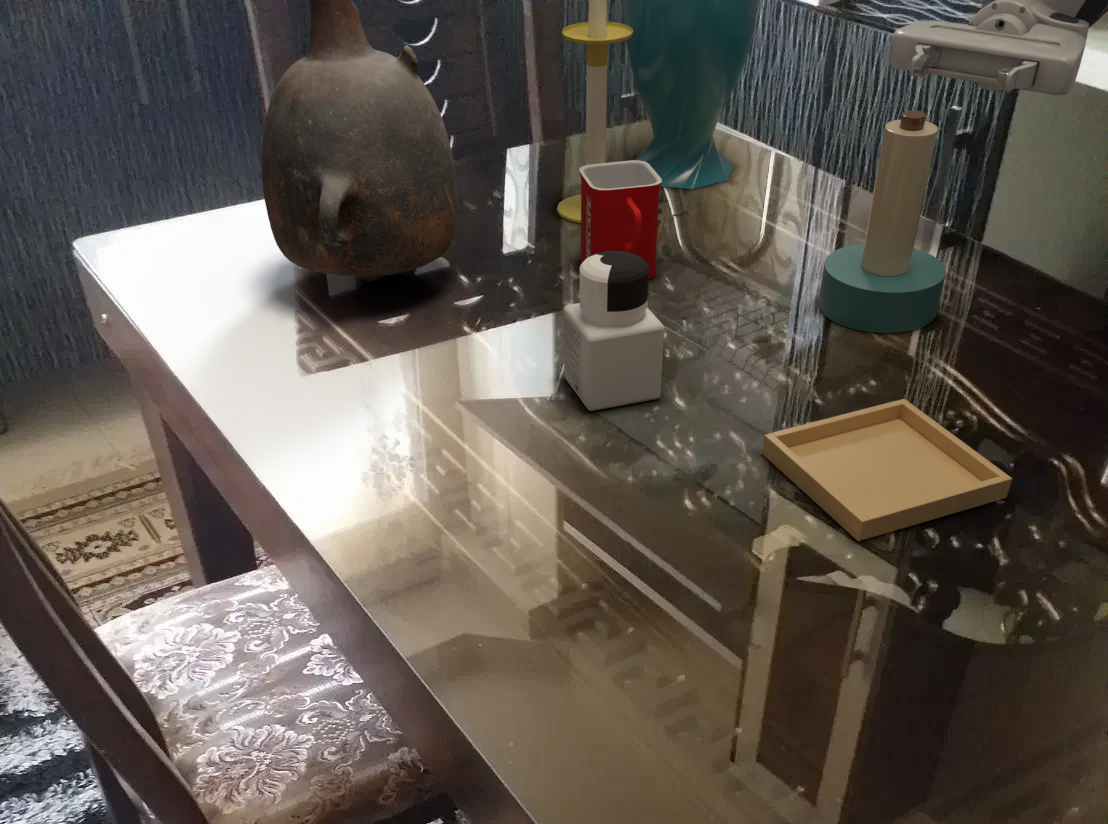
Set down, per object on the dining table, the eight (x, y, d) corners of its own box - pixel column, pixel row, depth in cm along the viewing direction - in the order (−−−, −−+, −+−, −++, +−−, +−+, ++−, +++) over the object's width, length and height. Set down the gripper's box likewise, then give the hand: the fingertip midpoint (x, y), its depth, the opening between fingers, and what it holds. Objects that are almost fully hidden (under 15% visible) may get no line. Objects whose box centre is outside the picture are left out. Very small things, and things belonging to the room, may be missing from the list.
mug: (575, 259, 139) (575, 165, 131) (641, 252, 140) (645, 159, 133) (600, 301, 131) (602, 203, 123) (670, 293, 132) (675, 196, 124)
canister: (890, 253, 128) (919, 103, 117) (919, 271, 124) (951, 117, 113) (851, 262, 126) (876, 110, 115) (878, 280, 123) (908, 125, 112)
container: (633, 365, 120) (637, 238, 110) (661, 399, 115) (669, 269, 105) (563, 377, 118) (562, 250, 109) (588, 413, 113) (589, 282, 104)
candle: (648, 207, 150) (664, -154, 124) (600, 230, 145) (607, -141, 118) (589, 189, 155) (592, -162, 128) (541, 212, 150) (534, -150, 123)
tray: (900, 417, 111) (904, 398, 110) (1006, 498, 101) (1012, 478, 100) (761, 453, 107) (764, 434, 106) (858, 541, 97) (862, 521, 96)
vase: (662, 201, 152) (677, -75, 130) (595, 162, 162) (599, -98, 141) (768, 176, 157) (798, -92, 136) (696, 140, 168) (714, -113, 147)
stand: (890, 274, 134) (898, 235, 131) (961, 318, 126) (971, 278, 123) (795, 295, 131) (801, 255, 128) (861, 342, 122) (869, 301, 119)
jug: (490, 306, 130) (473, -2, 109) (303, 339, 125) (248, 22, 104) (430, 228, 146) (406, -54, 125) (263, 254, 142) (208, -34, 120)
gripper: (922, -2, 131) (872, 26, 123) (1104, 23, 122) (1064, 55, 115) (910, 60, 135) (861, 91, 127) (1085, 89, 127) (1045, 124, 119)
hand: (959, 75), depth 121 cm, fingers open, 8 cm apart
